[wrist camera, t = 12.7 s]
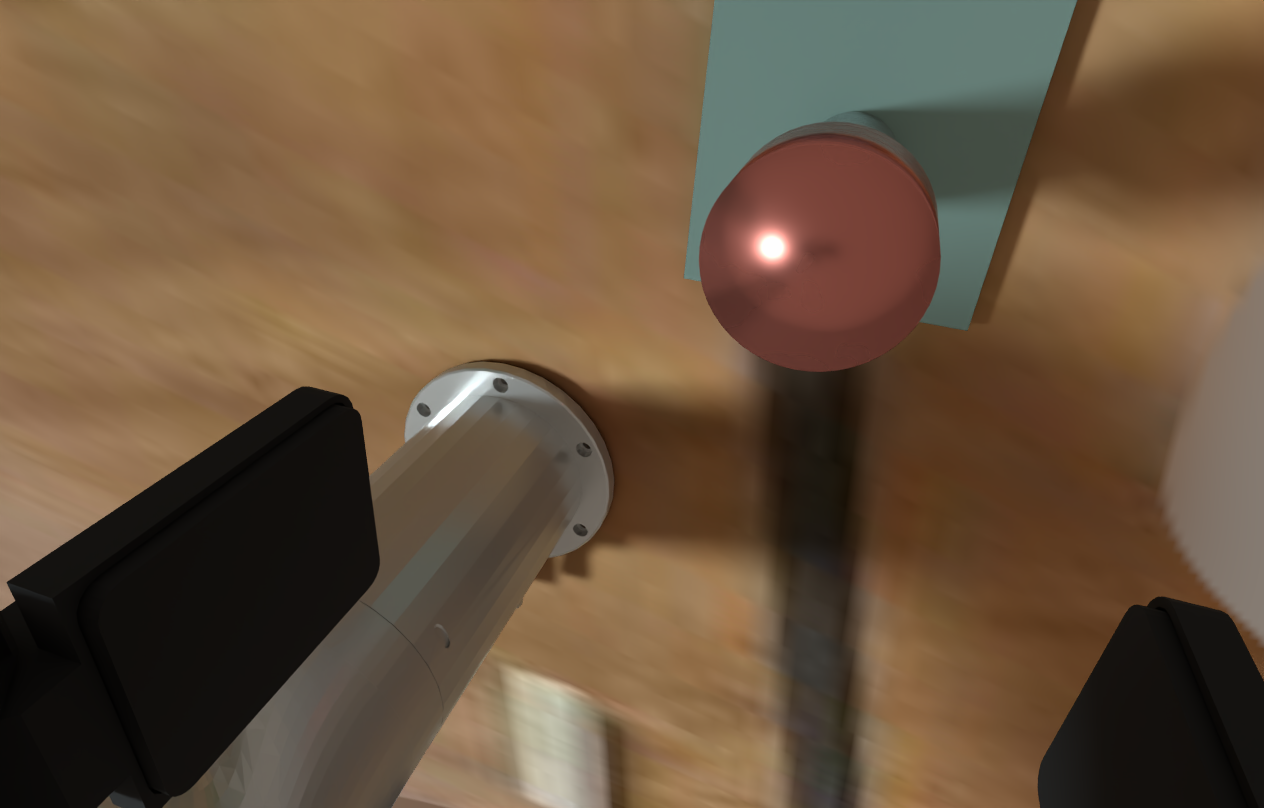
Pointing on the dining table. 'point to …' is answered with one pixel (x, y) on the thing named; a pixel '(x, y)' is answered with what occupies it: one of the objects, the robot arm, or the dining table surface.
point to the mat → (889, 104)
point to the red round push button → (823, 246)
